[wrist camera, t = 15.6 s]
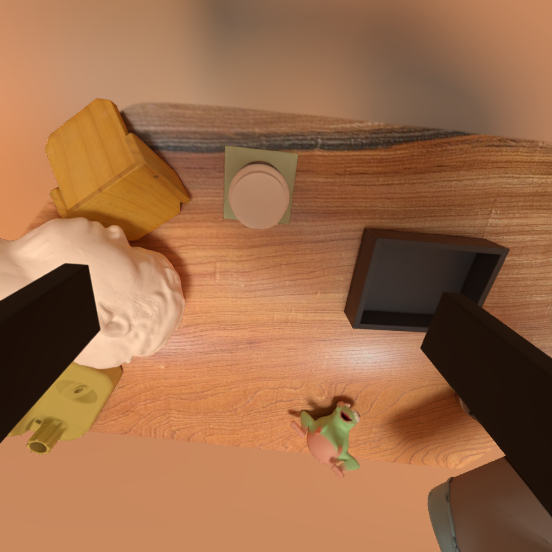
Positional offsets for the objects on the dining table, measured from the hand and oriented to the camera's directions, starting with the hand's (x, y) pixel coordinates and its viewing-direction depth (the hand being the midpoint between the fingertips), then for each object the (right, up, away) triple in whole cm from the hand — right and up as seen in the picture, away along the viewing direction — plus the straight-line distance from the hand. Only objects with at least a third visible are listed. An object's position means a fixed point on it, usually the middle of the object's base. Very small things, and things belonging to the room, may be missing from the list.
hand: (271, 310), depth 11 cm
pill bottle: (-2, +12, +21) cm, 24 cm away
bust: (-22, -7, +18) cm, 29 cm away
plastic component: (-28, -22, +31) cm, 47 cm away
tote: (+19, +1, +28) cm, 34 cm away
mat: (-2, +12, +22) cm, 25 cm away
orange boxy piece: (-15, +8, +18) cm, 25 cm away
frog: (+6, -27, +33) cm, 43 cm away
